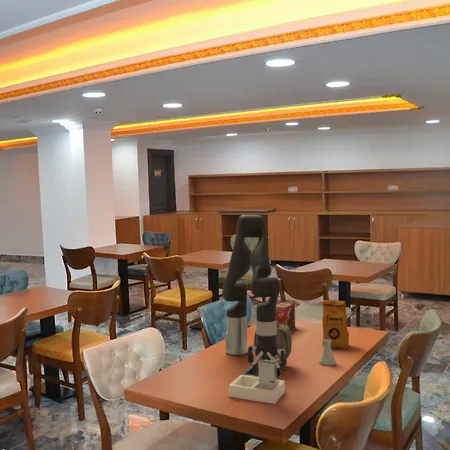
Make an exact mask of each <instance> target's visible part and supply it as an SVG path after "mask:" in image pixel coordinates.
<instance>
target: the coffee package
mask: <svg viewBox="0 0 450 450" xmlns="http://www.w3.org/2000/svg"><path fill="white" fill-rule="evenodd" d="M321 319H322V334H323V335H322V347H324V340H326V339H328V340H331V343H330V344H331V348H334V349H342V350H343V349H345V350H346V349H347V348H348V347H349V345H350V344H349V342H350V341H349V340H350V337H349V336H350V333H349V330H348V315H347V304H346V301H345V300H329V299H327V300H326V299H322V318H321Z"/></svg>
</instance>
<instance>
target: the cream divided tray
mask: <svg viewBox="0 0 450 450" xmlns="http://www.w3.org/2000/svg"><path fill="white" fill-rule="evenodd" d="M285 381H286V380H283V379H282V380H281V379H277V386H276V387H275V388H274V389H273V390H267V389H260V388H259V377H254V376H247V375H240V374H239V376H237V378H235V379H234V380H233V381H232V382H231V383H230V384H229V385H228V397H229V398H236V399H242V400H249V401H255V402H259V403H267V404H274V405H276V404H277V402H278V401H279V400H280V398H281V397H282V396H283V395H284V393H286V383H285Z"/></svg>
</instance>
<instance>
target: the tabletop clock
mask: <svg viewBox="0 0 450 450" xmlns="http://www.w3.org/2000/svg"><path fill="white" fill-rule="evenodd" d="M276 311H278V312H279V313H280V311H279V310H277V309H276ZM280 316H281V313H280ZM280 316H278V317H276V319H277V318H279V317H280ZM276 324H277V348H278V349H281V350H283V349H286V359H287V360H288V358H289V357H290V355H291V353H292V347H293V346H292V345H293V344H292V343H293V340H292V330H290V328H289V327H288V326H286V325H281V324H279V322H278V321H277V320H276ZM253 336H254V337H253V340H254V341H253V346H254V347H256V346H257V344H256V331H255V332H254V335H253ZM254 354H255V358H256V357H257V356H258V353H257V352H256V350H255V351H254ZM276 355H277V356H278V358H279V360H280V362H281V356H280V355H279V353H277V354H276ZM259 361H261V359H260V360H259ZM258 367H259V363H258ZM287 369H288V368H287V366H286V365H285V366H284V367H282V370H284V371H286V370H287Z"/></svg>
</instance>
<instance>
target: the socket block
mask: <svg viewBox="0 0 450 450" xmlns="http://www.w3.org/2000/svg"><path fill="white" fill-rule="evenodd" d="M240 375H247V376H254V377H259V367H258V374H257V375H255V374H254V373H253V365H249V366H248V367H247V368H246V369H245V370H244V371H242V372H241V373H240V374H239V376H240Z"/></svg>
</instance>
